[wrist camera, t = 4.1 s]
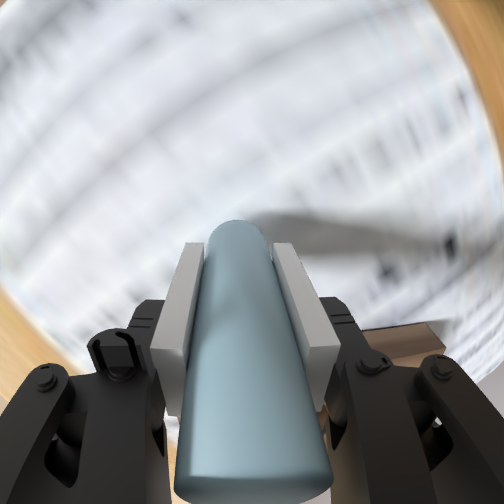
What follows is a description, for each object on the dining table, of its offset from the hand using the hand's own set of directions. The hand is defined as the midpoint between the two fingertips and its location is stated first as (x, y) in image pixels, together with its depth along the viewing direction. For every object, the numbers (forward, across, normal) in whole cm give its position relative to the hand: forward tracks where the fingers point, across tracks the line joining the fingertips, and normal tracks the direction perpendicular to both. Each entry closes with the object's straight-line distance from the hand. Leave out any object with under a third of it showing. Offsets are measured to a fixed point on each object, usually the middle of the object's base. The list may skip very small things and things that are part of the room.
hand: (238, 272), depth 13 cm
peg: (+3, 0, 0) cm, 3 cm away
